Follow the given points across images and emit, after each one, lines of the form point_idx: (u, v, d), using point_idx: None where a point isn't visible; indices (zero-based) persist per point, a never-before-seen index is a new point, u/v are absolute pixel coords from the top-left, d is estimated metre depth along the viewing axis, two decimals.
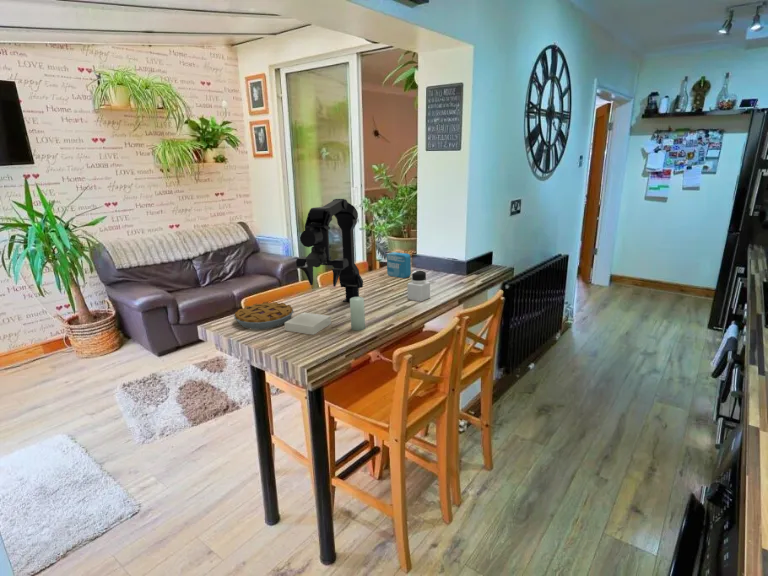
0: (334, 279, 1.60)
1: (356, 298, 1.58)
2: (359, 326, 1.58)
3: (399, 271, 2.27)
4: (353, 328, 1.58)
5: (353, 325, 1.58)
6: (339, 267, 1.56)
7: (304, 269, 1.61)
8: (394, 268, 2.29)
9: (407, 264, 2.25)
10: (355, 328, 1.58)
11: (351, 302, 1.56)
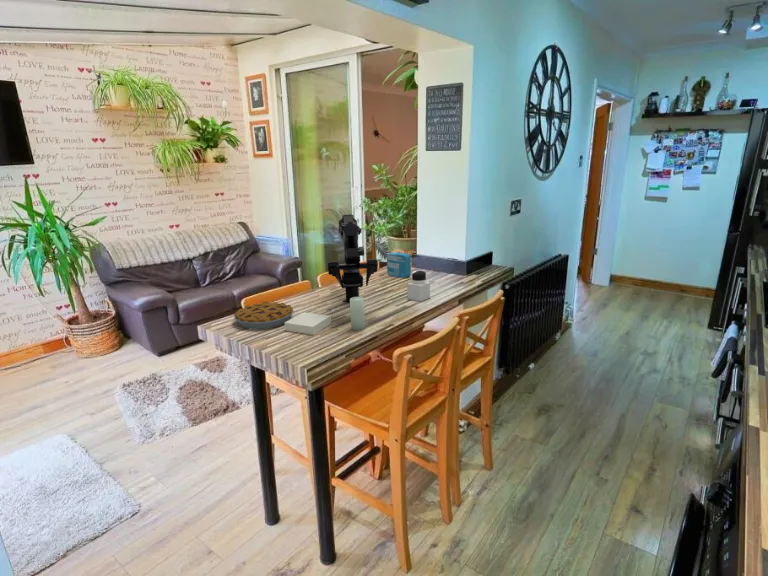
0: (367, 277, 1.65)
1: (356, 298, 1.58)
2: (359, 326, 1.58)
3: (399, 271, 2.27)
4: (353, 328, 1.58)
5: (353, 325, 1.58)
6: (374, 263, 1.66)
7: (337, 269, 1.64)
8: (394, 268, 2.29)
9: (407, 264, 2.25)
10: (355, 328, 1.58)
11: (351, 302, 1.56)
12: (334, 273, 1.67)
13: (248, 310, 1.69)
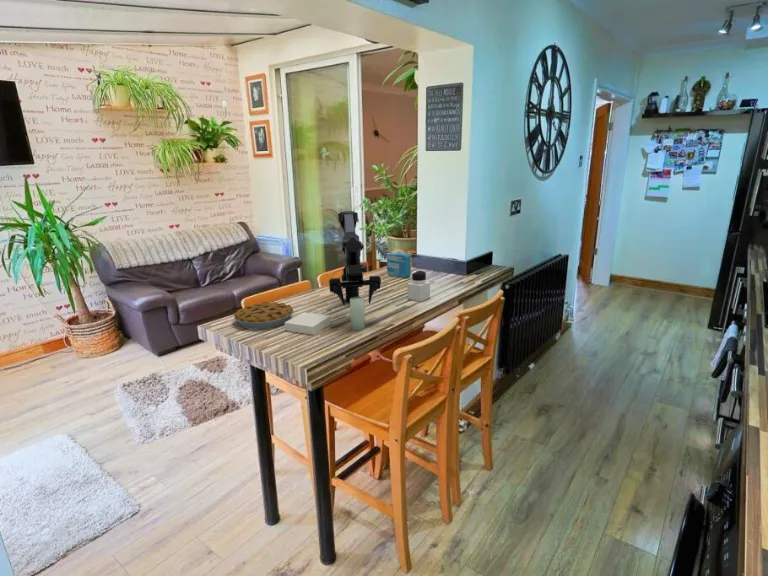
0: (370, 294, 1.60)
1: (356, 298, 1.58)
2: (359, 326, 1.58)
3: (399, 271, 2.27)
4: (353, 328, 1.58)
5: (353, 325, 1.58)
6: (377, 279, 1.61)
7: (339, 286, 1.59)
8: (394, 268, 2.29)
9: (407, 264, 2.25)
10: (355, 328, 1.58)
11: (351, 302, 1.56)
12: (336, 290, 1.62)
13: (248, 310, 1.69)
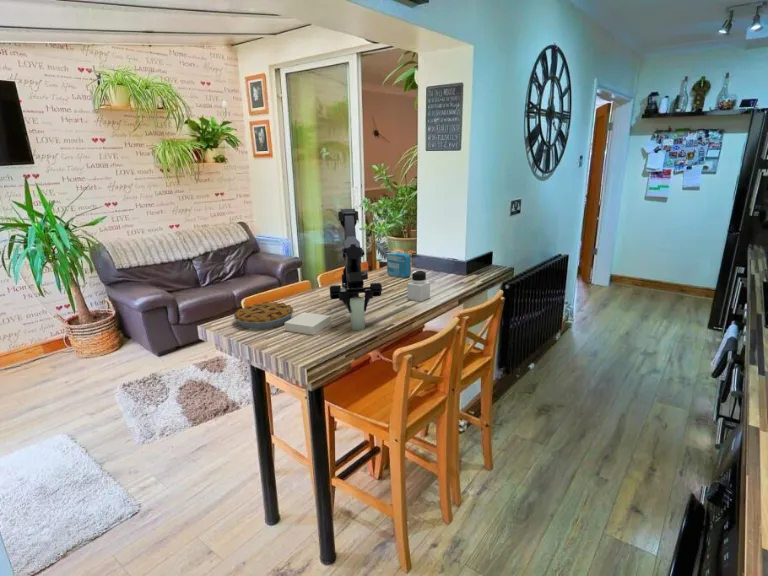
0: (366, 302, 1.58)
1: (356, 298, 1.58)
2: (359, 326, 1.58)
3: (399, 271, 2.27)
4: (353, 328, 1.58)
5: (353, 325, 1.58)
6: (378, 287, 1.59)
7: (345, 293, 1.58)
8: (394, 268, 2.29)
9: (407, 264, 2.25)
10: (355, 328, 1.58)
11: (351, 302, 1.56)
12: (342, 297, 1.60)
13: (248, 310, 1.69)
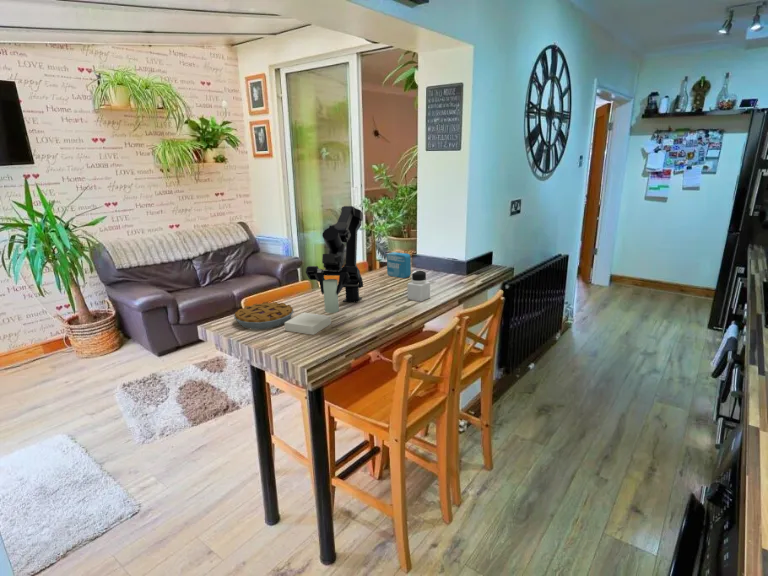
0: (339, 285, 1.55)
1: (329, 280, 1.56)
2: (331, 308, 1.55)
3: (399, 271, 2.27)
4: (325, 310, 1.57)
5: (325, 307, 1.56)
6: (353, 270, 1.55)
7: (319, 275, 1.57)
8: (394, 268, 2.29)
9: (407, 264, 2.25)
10: (327, 310, 1.56)
11: (323, 283, 1.54)
12: None
13: (248, 310, 1.69)
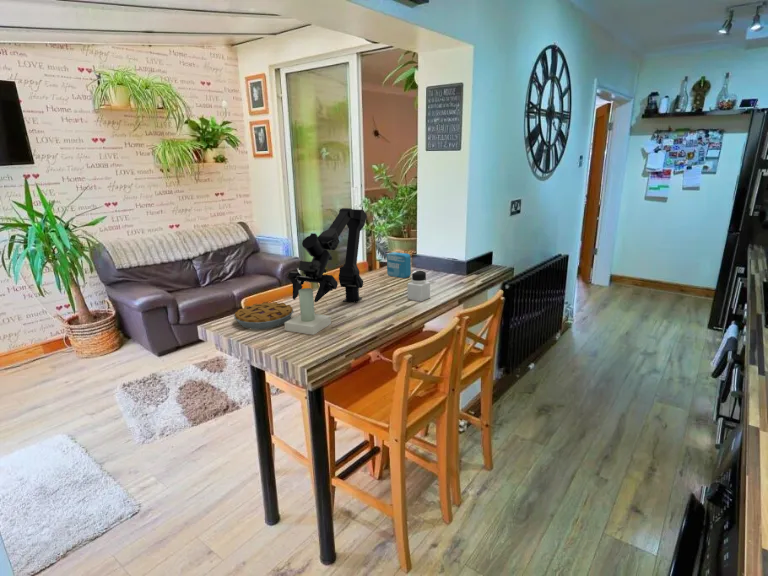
0: (318, 293, 1.57)
1: (305, 289, 1.59)
2: (304, 317, 1.59)
3: (399, 271, 2.27)
4: (301, 318, 1.61)
5: None
6: (327, 279, 1.56)
7: (293, 280, 1.61)
8: (394, 268, 2.29)
9: (407, 264, 2.25)
10: (301, 318, 1.60)
11: (299, 292, 1.59)
12: None
13: (248, 310, 1.69)
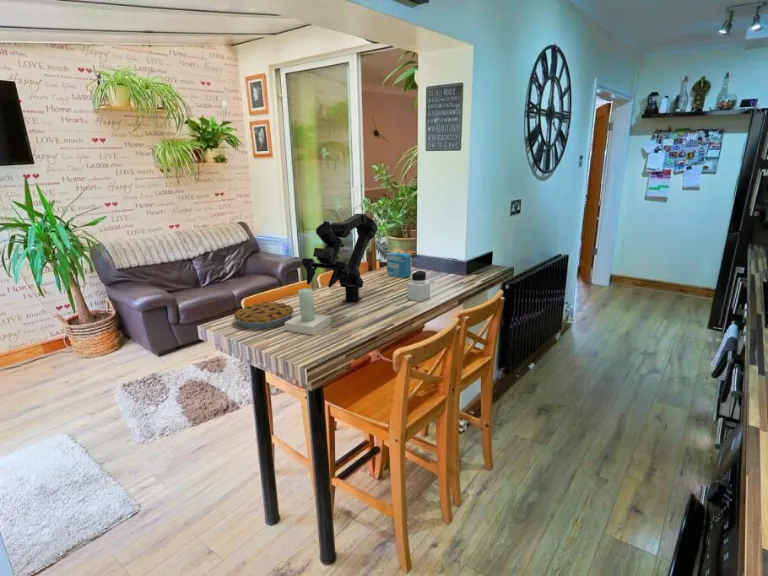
0: (331, 279, 1.64)
1: (305, 289, 1.59)
2: (304, 317, 1.59)
3: (399, 271, 2.27)
4: (301, 318, 1.61)
5: None
6: (341, 265, 1.64)
7: (307, 266, 1.69)
8: (394, 268, 2.29)
9: (407, 264, 2.25)
10: (301, 319, 1.60)
11: (298, 292, 1.58)
12: None
13: (248, 310, 1.69)
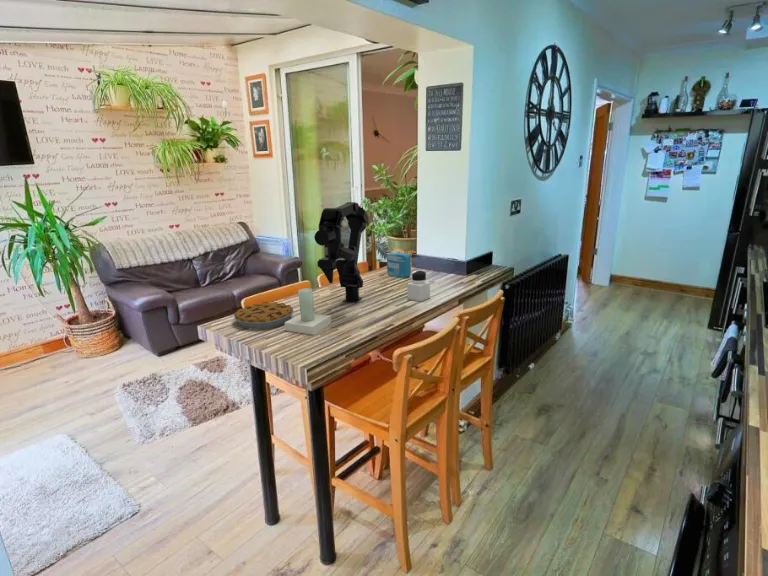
0: (343, 270, 1.79)
1: (305, 289, 1.59)
2: (305, 317, 1.59)
3: (399, 271, 2.27)
4: (301, 318, 1.61)
5: None
6: None
7: (334, 268, 1.67)
8: (394, 268, 2.29)
9: (407, 264, 2.25)
10: (301, 319, 1.60)
11: (298, 292, 1.58)
12: None
13: (248, 310, 1.69)
